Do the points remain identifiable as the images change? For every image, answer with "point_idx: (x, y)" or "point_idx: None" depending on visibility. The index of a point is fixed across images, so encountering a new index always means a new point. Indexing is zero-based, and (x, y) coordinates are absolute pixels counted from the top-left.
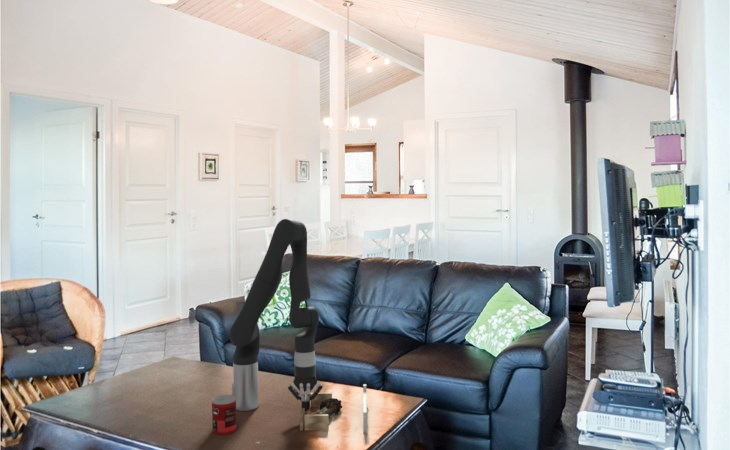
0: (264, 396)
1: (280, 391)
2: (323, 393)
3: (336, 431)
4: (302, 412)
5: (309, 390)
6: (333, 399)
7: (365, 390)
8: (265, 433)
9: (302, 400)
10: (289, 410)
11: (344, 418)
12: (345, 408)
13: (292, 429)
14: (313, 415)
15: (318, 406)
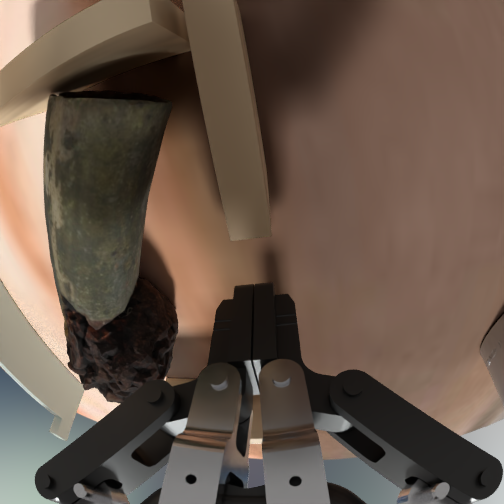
0: (443, 393)
1: None
2: None
3: None
4: (216, 87)
5: (165, 496)
6: (85, 385)
7: (56, 417)
8: (474, 7)
9: (287, 368)
10: (376, 336)
11: (42, 269)
12: None
13: (315, 31)
14: (44, 44)
15: None
